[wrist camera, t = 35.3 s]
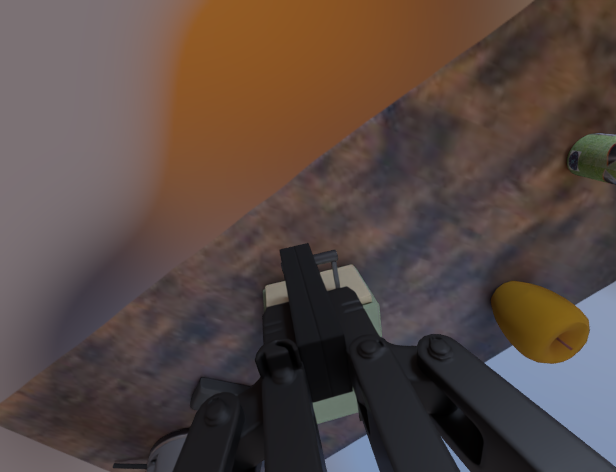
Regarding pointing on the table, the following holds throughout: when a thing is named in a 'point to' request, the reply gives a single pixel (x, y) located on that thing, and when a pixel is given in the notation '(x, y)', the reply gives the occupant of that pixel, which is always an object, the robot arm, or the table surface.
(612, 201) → the table surface
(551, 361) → the apple
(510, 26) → the table surface
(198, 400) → the usb drive
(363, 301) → the drawer
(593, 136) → the beverage can
